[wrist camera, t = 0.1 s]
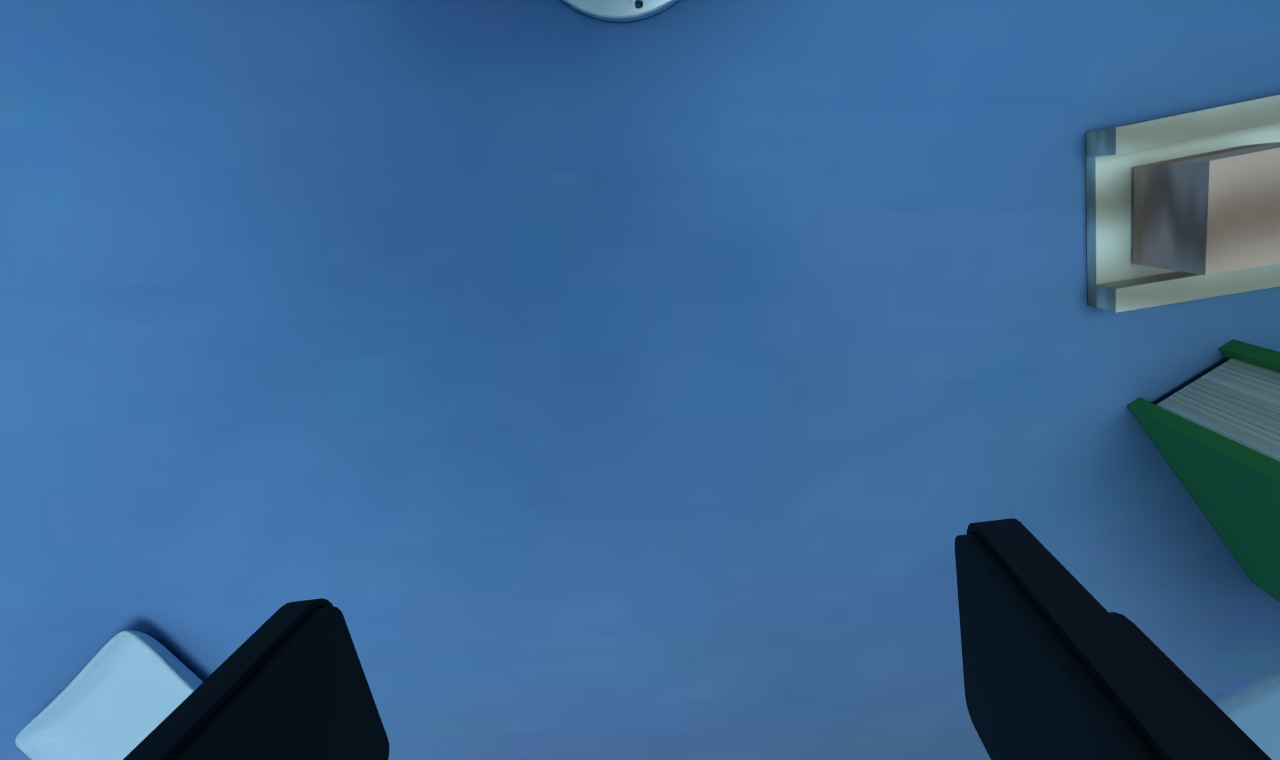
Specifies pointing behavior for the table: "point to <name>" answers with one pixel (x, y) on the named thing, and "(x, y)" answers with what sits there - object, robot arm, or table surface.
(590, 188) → the table surface
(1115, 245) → the chute
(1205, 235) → the block
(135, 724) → the salad plate
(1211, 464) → the hardback book
